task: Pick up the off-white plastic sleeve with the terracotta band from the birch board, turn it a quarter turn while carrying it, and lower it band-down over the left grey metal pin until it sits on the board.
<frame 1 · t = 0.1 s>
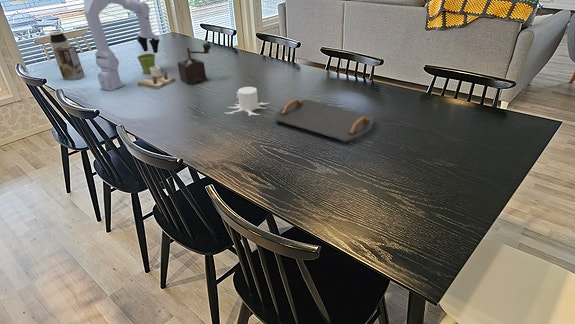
hand: (150, 51, 208), 10 cm above the table, tool pointing down, fingers open, 7 cm apart
pin board: (156, 83, 195), on the table
travel mug: (66, 63, 229), on the table
tree stump: (248, 108, 166), on the table
manual coffee grinder: (198, 79, 198), on the table
serving board: (323, 124, 151), on the table
sleeve: (156, 77, 198), point 1 cm above the table, touching pin board
plant pot: (149, 72, 211), on the table
coffee box: (74, 78, 207), on the table
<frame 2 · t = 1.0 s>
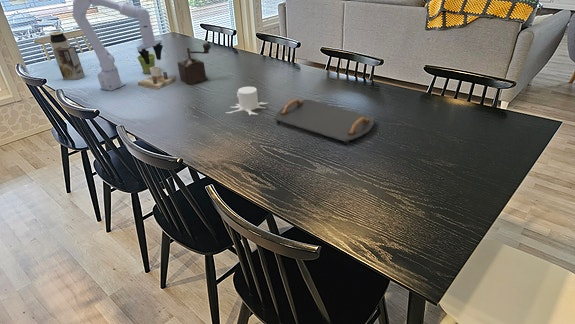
hand: (153, 61, 194), 10 cm above the table, tool pointing down, fingers open, 7 cm apart
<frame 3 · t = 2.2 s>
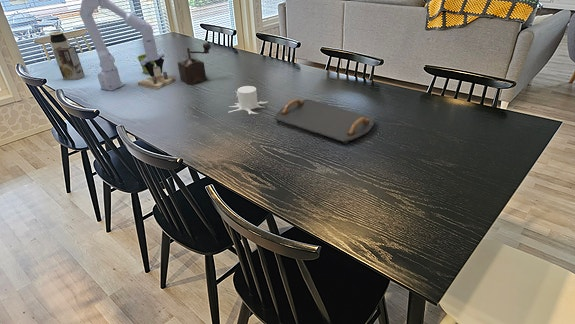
hand: (156, 74, 197), 3 cm above the table, tool pointing down, fingers closed on sleeve, 5 cm apart
sleeve: (156, 77, 198), point 2 cm above the table, touching gripper, pin board
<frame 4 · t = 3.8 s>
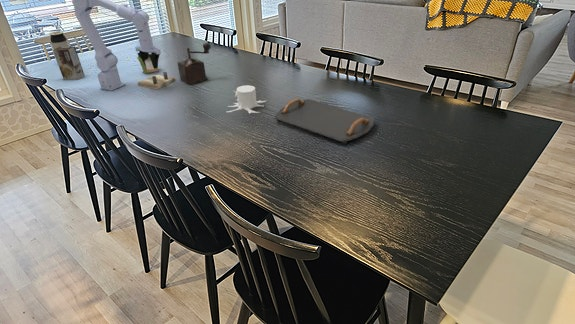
hand: (151, 67, 186), 10 cm above the table, tool pointing down, fingers closed on sleeve, 5 cm apart
sleeve: (152, 70, 187), point 8 cm above the table, touching gripper
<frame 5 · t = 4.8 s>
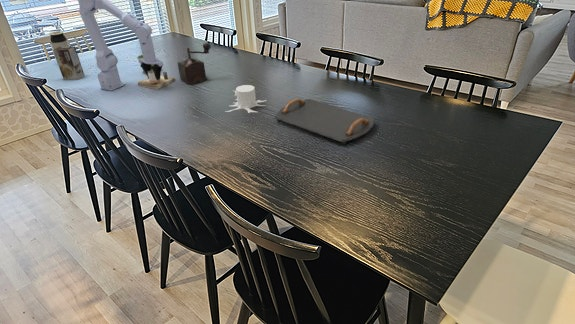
hand: (154, 78, 189), 4 cm above the table, tool pointing down, fingers closed on sleeve, 5 cm apart
sleeve: (155, 81, 190), point 3 cm above the table, touching gripper
when the fingers open (4 cm above the table, at t = 5.3 s): sleeve stays where it is, resting on pin board.
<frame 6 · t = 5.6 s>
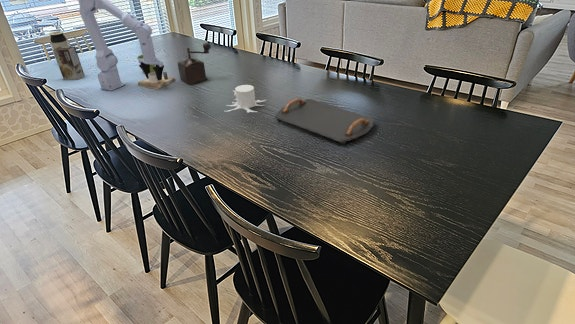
hand: (154, 78, 189), 4 cm above the table, tool pointing down, fingers open, 7 cm apart
sleeve: (155, 83, 190), point 1 cm above the table, touching pin board
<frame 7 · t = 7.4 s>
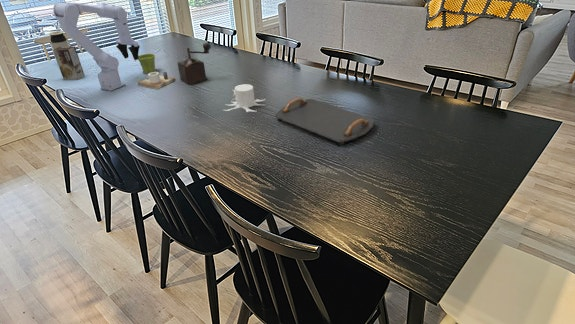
hand: (131, 58, 197), 10 cm above the table, tool pointing down, fingers open, 7 cm apart
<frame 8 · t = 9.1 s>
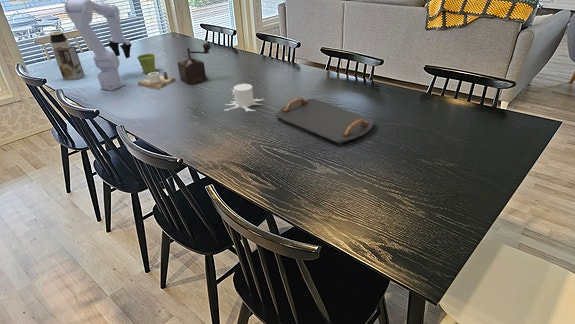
hand: (122, 56, 200), 10 cm above the table, tool pointing down, fingers open, 7 cm apart
at the end: sleeve 0.1 cm from the target spot on the pin board, point 1.5 cm above the pin board's base; sleeve tilted 0°; the gripper is holding nothing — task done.
